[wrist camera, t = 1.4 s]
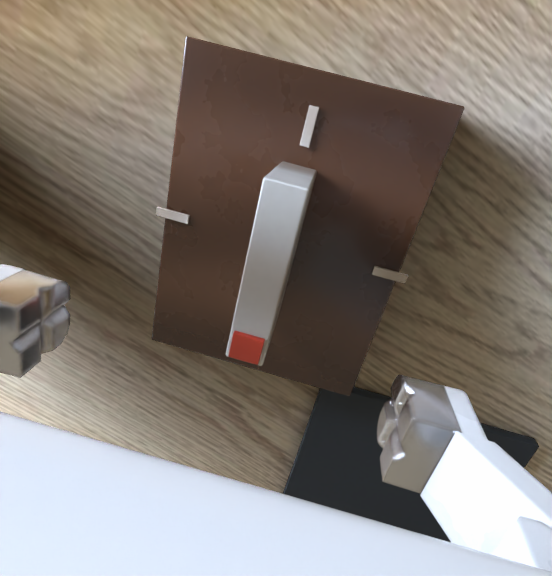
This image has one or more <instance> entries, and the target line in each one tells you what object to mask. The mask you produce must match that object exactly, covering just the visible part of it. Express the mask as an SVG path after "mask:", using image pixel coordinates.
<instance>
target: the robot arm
mask: <svg viewBox="0 0 552 576" xmlns="http://www.w3.org/2000/svg"><path fill="white" fill-rule="evenodd" d="M69 300H70V286H69V285H68V284H67V283H66V282H65V281H62V280H58V279H55V278H52V277H48V276H45V275H42V274H38V273H35V272H32V271H27V270H25V269H22V268H18V267H14V266H10V265H3V264H2V265H0V373H4V374H8V375H12V376H16V377H20V378H21V377H22V376H23V375H25V374H26V373H27V372H28V371H29V370H31V369H32V368H33V367H34V366H35V365H37V364H38V363H39V362H40V361H41V354H42V353H46V352H49V351H53V350H54V349H56V348H57V347H58V346H59V345H60V344H61V343H62V342H63V340H64V338H65V336H66V335H67V333H68V329H69V325H70V314H69V312H68V311H67V309H66V307H65V306H64V305H65V304H66V303H67V302H68V301H69ZM391 393H392V399H390V400H388V401H387V402H385V403H384V405H383V407H382V410H381V412H380V415H379V420H378V424H377V440H378V443H379V444H380V446H381V447H382V448H383V451H382V453H381V455H380V465H381V473H382V481H383V482H385V483H389V484H392V485H395V486H398V487H401V488H404V489H408V490H411V491H414V492H417V493H420V494H421V495H420V496H421V497H422V499H423V500H424V502H425V503H426V505H427V506H428V508H429V509H430V511H431V512H432V514H433V515H434V517H435V518H436V520H437V522H438V523H439V525H440V526H441V528H442V529H443V531H444V532H445V534H446V535H447V537H448V538H449V540H450V541H451V542H447V541H444V540H441V539H437V538H434V537H430V536H427V535H423V534H420V533H416V532H413V531H409V530H406V529H402V528H399V527H395V526H392V525H389V524H385V523H382V522H378V521H375V520H371V519H368V518H365V517H361V516H358V515H354V514H351V513H347V512H344V511H341V510H337V509H334V508H330V507H327V506H323V505H320V504H316V503H313V502H310V501H306V500H303V499H299V498H296V497H292V496H289V495H286V494H282V493H279V492H275V491H272V490H268V489H265V488H262V487H258V486H255V485H251V484H248V483H244V482H241V481H237V480H234V479H231V478H227V477H224V476H220V475H217V474H213V473H210V472H207V471H203V470H200V469H196V468H193V467H189V466H186V465H182V464H179V463H175V462H172V461H168V460H165V459H162V458H158V457H155V456H151V455H148V454H144V453H141V452H137V451H134V450H130V449H127V448H124V447H120V446H117V445H113V444H110V443H106V442H103V441H100V440H96V439H93V438H89V437H86V436H82V435H79V434H75V433H72V432H69V431H65V430H62V429H58V428H55V427H51V426H48V425H45V424H41V423H38V422H34V421H31V420H27V419H24V418H21V417H17V416H14V415H10V414H7V413H3V412H0V576H552V492H551V491H549V490H548V489H547V488H546V487H545V486H544V485H543V484H541V483H540V482H539V481H538V480H537V479H536V478H535V477H534V476H532V475H531V474H530V473H529V472H528V471H527V470H526V469H524V468H523V467H522V466H521V465H520V464H519V463H518V462H517V461H515V460H514V459H513V458H512V457H511V456H510V455H509V454H507V453H506V452H505V451H504V450H503V449H502V448H501V447H499V446H498V445H497V444H496V443H495V442H491V441H488V439H487V437H486V435H485V433H484V431H483V429H482V426H481V424H480V422H479V420H478V418H477V415H476V413H475V411H474V409H473V407H472V405H471V402H470V400H469V398H468V396H467V394H466V393H465V392H464V391H463V390H460V389H456V388H451V387H447V386H443V385H439V384H435V383H431V382H427V381H423V380H419V379H415V378H411V377H407V376H403V375H398V376H397V377H396V379H395V380H394V382H393V384H392V387H391Z"/></svg>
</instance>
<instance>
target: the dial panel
mask: <svg viewBox="0 0 552 576" xmlns="http://www.w3.org/2000/svg"><path fill="white" fill-rule="evenodd" d="M463 110H464V106H460V105H456V104H452V103H448V102H444V101H440V100H436V99H432V98H428V97H424V96H420V95H416V94H412V93H408V92H405V91H401V90H397V89H393V88H389V87H385V86H381V85H377V84H373V83H369V82H365V81H361V80H357V79H353V78H349V77H345V76H341V75H338V74H334V73H330V72H326V71H322V70H318V69H314V68H310V67H306V66H302V65H298V64H294V63H290V62H286V61H282V60H278V59H274V58H271V57H267V56H263V55H259V54H255V53H251V52H247V51H243V50H239V49H235V48H231V47H227V46H223V45H219V44H215V43H211V42H207V41H203V40H200V39H196V38H192V37H188V36H187V37H186V42H185V51H184V60H183V68H182V77H181V86H180V95H179V103H178V112H177V121H176V130H175V138H174V147H173V156H172V165H171V174H170V182H169V191H168V200H167V209H165V208H162V207H157V209H156V216H160V217H164V218H165V226H164V235H163V244H162V252H161V261H160V270H159V279H158V287H157V296H156V305H155V314H154V323H153V331H152V340H155V341H159V342H162V343H166V344H169V345H173V346H176V347H180V348H183V349H187V350H190V351H193V352H197V353H200V354H204V355H207V356H211V357H214V358H218V359H221V360H225V361H228V362H232V363H235V364H239V365H242V366H246V367H249V368H253V369H256V370H259V371H263V372H266V373H270V374H273V375H277V376H280V377H284V378H287V379H291V380H294V381H298V382H301V383H305V384H308V385H312V386H315V387H319V388H322V389H326V390H329V391H332V392H336V393H339V394H343V395H346V396H350V394H351V392H352V389H353V387H354V384H355V382H356V379H357V377H358V374H359V372H360V369H361V367H362V364H363V362H364V359H365V357H366V354H367V352H368V349H369V347H370V344H371V342H372V339H373V337H374V334H375V332H376V329H377V327H378V324H379V321H380V319H381V316H382V314H383V311H384V309H385V306H386V304H387V301H388V299H389V296H390V294H391V291H392V289H393V286H394V284H395V281H397V282H401V283H404V284H405V283H406V280H407V278H408V275H407V274H403V273H400V272H399V271H400V269H401V266H402V264H403V261H404V259H405V256H406V254H407V251H408V249H409V246H410V244H411V241H412V239H413V236H414V234H415V231H416V229H417V226H418V223H419V221H420V218H421V216H422V213H423V211H424V208H425V206H426V203H427V201H428V198H429V196H430V193H431V191H432V188H433V186H434V183H435V181H436V178H437V176H438V173H439V171H440V168H441V166H442V163H443V161H444V158H445V156H446V153H447V151H448V148H449V146H450V143H451V141H452V138H453V136H454V133H455V131H456V128H457V125H458V123H459V120H460V118H461V115H462V113H463ZM283 161H284V162H288V163H291V164H295V165H299V166H303V167H306V168H310V169H314V170H316V171H317V174H316V178H315V182H314V185H313V189H312V193H311V196H310V200H309V204H308V208H307V211H306V215H305V219H304V222H303V226H302V230H301V234H300V237H299V241H298V245H297V248H296V252H295V256H294V260H293V263H292V267H291V271H290V274H289V278H288V282H287V286H286V289H285V293H284V297H283V301H282V304H281V308H280V312H279V315H278V318H277V322H276V325H275V328H274V331H273V334H272V338H271V341H270V344H269V347H268V350H267V353H266V357H265V360H264V363H263V365H262V366H259V365H256V364H252V363H249V362H245V361H242V360H238V359H235V358H231V357H228V356H226V350H227V345H228V341H229V336H230V331H231V326H232V322H233V317H234V312H235V308H236V303H237V298H238V294H239V289H240V284H241V280H242V275H243V270H244V266H245V261H246V256H247V251H248V247H249V242H250V237H251V233H252V228H253V223H254V219H255V214H256V209H257V205H258V200H259V195H260V190H261V186H262V181H263V178H264V177H265V176H266V175H267V174H269V173H270V172H271V171H272V170H273V169H274V168H275V167H277V166H278V165H279V164H280V163H281V162H283Z"/></svg>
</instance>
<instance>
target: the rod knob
mask: <svg viewBox="0 0 552 576" xmlns="http://www.w3.org/2000/svg"><path fill="white" fill-rule="evenodd" d="M316 174H317V171H316V170H314V169H310V168H306V167H303V166H299V165H295V164H291V163H288V162H284V161H283V162H281V163H280V164H279V165H278V166H277V167H275V168H274V169H273V170H272V171H271V172H270V173H269V174H267V175H266V176H265V177H264V178H263V181H262V186H261V190H260V195H259V200H258V205H257V209H256V214H255V219H254V223H253V228H252V233H251V237H250V242H249V247H248V251H247V256H246V261H245V266H244V270H243V275H242V280H241V284H240V289H239V294H238V298H237V303H236V308H235V312H234V317H233V322H232V326H231V331H230V336H229V341H228V345H227V350H226V356H228V357H231V358H235V359H238V360H242V361H245V362H249V363H252V364H256V365H259V366H262V365H263V363H264V360H265V357H266V353H267V350H268V347H269V344H270V341H271V338H272V334H273V331H274V328H275V325H276V322H277V318H278V315H279V312H280V308H281V304H282V301H283V297H284V293H285V289H286V286H287V282H288V278H289V274H290V271H291V267H292V263H293V260H294V256H295V252H296V248H297V245H298V241H299V237H300V234H301V230H302V226H303V222H304V219H305V215H306V211H307V208H308V204H309V200H310V196H311V193H312V189H313V185H314V182H315V178H316Z"/></svg>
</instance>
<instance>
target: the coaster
mask: <svg viewBox="0 0 552 576" xmlns="http://www.w3.org/2000/svg"><path fill="white" fill-rule="evenodd" d="M390 399H392V398H391V397H387V396H384V395H380V394H377V393H373V392H370V391H366V390H363V389H359V388H356V387H353V389H352V392H351V394H350V396H346V395H343V394H339V393H336V392H332V391H329V390H326V389H322V388H320V390H319V393H318V396H317V399H316V401H315V404H314V407H313V410H312V413H311V416H310V418H309V421H308V424H307V427H306V430H305V433H304V435H303V438H302V441H301V444H300V447H299V450H298V452H297V455H296V458H295V461H294V464H293V467H292V469H291V472H290V475H289V478H288V481H287V484H286V486H285V489H284V492H283V494H286V495H289V496H292V497H296V498H299V499H303V500H306V501H310V502H313V503H316V504H320V505H323V506H327V507H330V508H334V509H337V510H341V511H344V512H347V513H351V514H354V515H358V516H361V517H365V518H368V519H371V520H375V521H378V522H382V523H385V524H389V525H392V526H395V527H399V528H402V529H406V530H409V531H413V532H416V533H420V534H423V535H427V536H430V537H434V538H437V539H441V540H444V541H447V542H451V541H450V540H449V538H448V537H447V535H446V534H445V532H444V531H443V529H442V528H441V526H440V525H439V523H438V522H437V520H436V518H435V517H434V515H433V514H432V512H431V511H430V509H429V508H428V506H427V505H426V503H425V502H424V500H423V499H422V497H421V496H420V495H421V494H420V493H417V492H414V491H411V490H408V489H404V488H401V487H398V486H395V485H392V484H389V483H385V482H383V481H382V473H381V465H380V455H381V453H382V451H383V448H382V447H381V446H380V444H379V443H378V440H377V424H378V420H379V415H380V412H381V410H382V407H383V405H384V403H385V402H387V401H388V400H390ZM480 424H481V426H482V429H483V431H484V433H485V435H486V437H487V439H488V441H491V442H495V443H496V444H497V445H498V446H499V447H501V448H502V449H503V450H504V451H505V452H506V453H507V454H509V455H510V456H511V457H512V458H513V459H514V460H515V461H517V462H518V463H519V464H520V465H521V466H522V467H523V468H524V467H525V466H526V464H527V463H528V462H529V460H530V459H531V457H532V456H533V454H534V453H535V452H536V450H537V449H538V447H539V445H538V444H537V442H536V440H535V439H534V438H530V437H527V436H523V435H520V434H516V433H513V432H509V431H506V430H502V429H499V428H496V427H492V426H489V425H485V424H482V423H480Z"/></svg>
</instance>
